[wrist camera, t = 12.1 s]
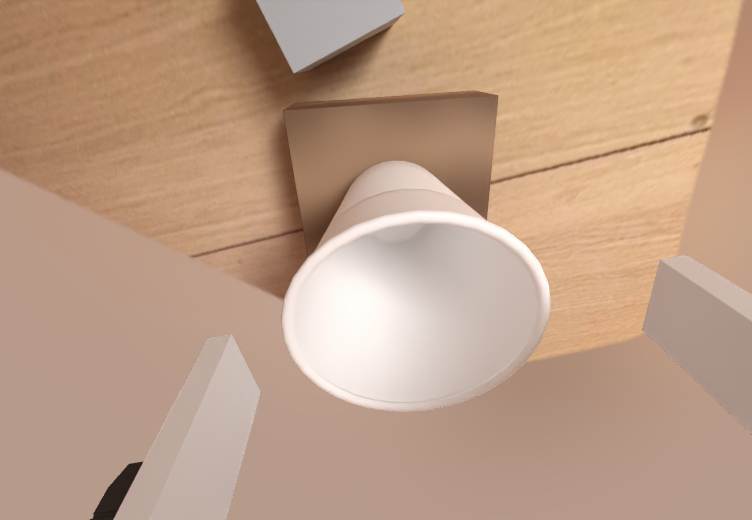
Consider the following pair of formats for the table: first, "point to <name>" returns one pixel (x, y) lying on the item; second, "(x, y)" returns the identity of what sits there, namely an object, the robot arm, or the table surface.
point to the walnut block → (389, 147)
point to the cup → (413, 297)
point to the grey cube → (325, 26)
